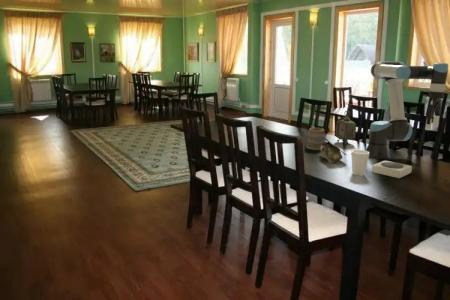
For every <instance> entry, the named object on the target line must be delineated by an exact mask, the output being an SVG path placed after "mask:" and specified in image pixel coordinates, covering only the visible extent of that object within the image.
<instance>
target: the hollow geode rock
mask: <svg viewBox="0 0 450 300" xmlns="http://www.w3.org/2000/svg"><path fill="white" fill-rule="evenodd" d="M323 138H324V140H325V141H326V142H323V143H322V144H321V147H320V150H319V151H320V152H321V153H320V155H321V159H324V158H325V159H326V160H327V161H328V163H329V164H335V163H340V161H341V160H342V159H343V155H345V156H348V154H346V153H345V152H344V151H343V150H341V148H339V147H338V146H336V145H335V144H333V143H332V142H330V141H329V140H328V139H327V138H325V137H323ZM342 154H343V155H342Z"/></svg>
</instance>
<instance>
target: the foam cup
mask: <svg viewBox="0 0 450 300" xmlns="http://www.w3.org/2000/svg"><path fill="white" fill-rule="evenodd" d="M350 155H351V170H352V171H351V173H352V175H354V176H361V177H362V176H365V172H366V169H367V165H368V161H369V152H368V151H366V150H364V149H352V150H351V153H350Z"/></svg>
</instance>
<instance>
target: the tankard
mask: <svg viewBox="0 0 450 300" xmlns="http://www.w3.org/2000/svg"><path fill="white" fill-rule="evenodd" d="M307 135H308V138H307V142H308V143H307V144H306V145H305V147H306V149H307V150H312V151H321V150H320V147H321V144H322V143H323V142H325V141H326V140H324V138H325V136H326V133H325V129H324V128H320V127H315V125H314V124H311V126H310V128H309V129H308V131H307ZM323 137H324V138H323Z"/></svg>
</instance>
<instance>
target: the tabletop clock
mask: <svg viewBox="0 0 450 300" xmlns="http://www.w3.org/2000/svg"><path fill="white" fill-rule="evenodd" d="M346 112H347V113H348V114H346ZM356 132H357V123H355V122H354V121H353V120H351V118H350V111H348V110H345V111H344V117H343V119H338V120H336V125H335V137H336V138H337V140H336V141H337V142H338V143H339V142H340V140H342V141H344V145H345V146H346V145H347V144H348V143H349V140H350V141H351V140H352V141H353V140H354V139H355V138H356Z"/></svg>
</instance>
